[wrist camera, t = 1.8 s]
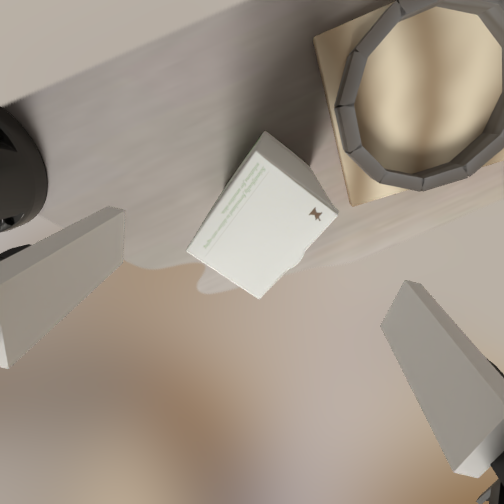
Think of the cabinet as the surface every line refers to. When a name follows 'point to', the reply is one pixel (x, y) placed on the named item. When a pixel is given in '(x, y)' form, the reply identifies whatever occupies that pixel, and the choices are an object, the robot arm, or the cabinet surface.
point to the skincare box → (263, 218)
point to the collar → (415, 94)
